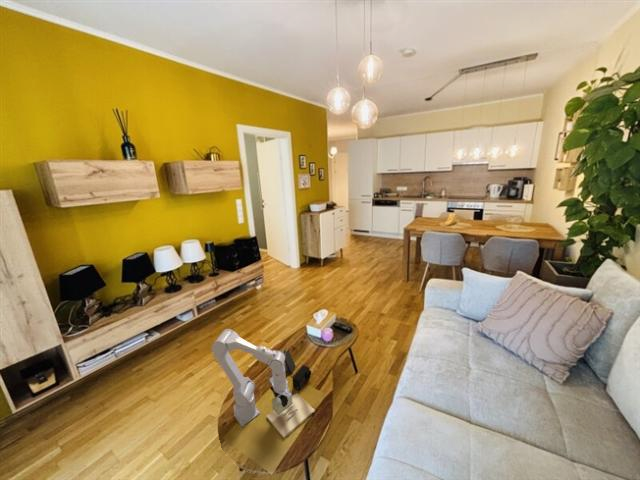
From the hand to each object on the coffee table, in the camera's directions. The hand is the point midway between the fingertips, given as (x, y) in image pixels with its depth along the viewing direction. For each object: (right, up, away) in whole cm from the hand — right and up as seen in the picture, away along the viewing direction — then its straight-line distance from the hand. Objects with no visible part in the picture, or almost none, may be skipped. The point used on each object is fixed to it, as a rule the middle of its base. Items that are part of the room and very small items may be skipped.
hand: (281, 402), depth 120 cm
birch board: (+4, -8, +3) cm, 9 cm away
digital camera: (+8, -3, +21) cm, 23 cm away
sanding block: (0, -2, +1) cm, 2 cm away
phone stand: (-2, 0, +31) cm, 31 cm away
